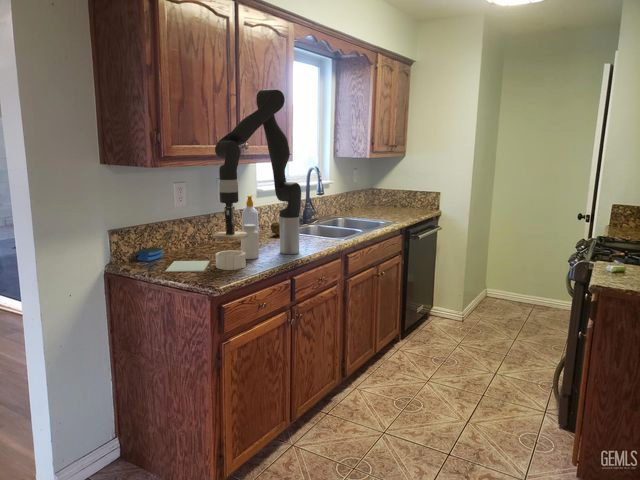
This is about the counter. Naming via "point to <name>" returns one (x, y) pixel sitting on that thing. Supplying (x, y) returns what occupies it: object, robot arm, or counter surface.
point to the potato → (275, 228)
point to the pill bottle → (250, 242)
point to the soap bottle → (250, 214)
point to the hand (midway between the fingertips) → (230, 232)
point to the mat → (187, 266)
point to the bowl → (230, 260)
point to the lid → (232, 236)
